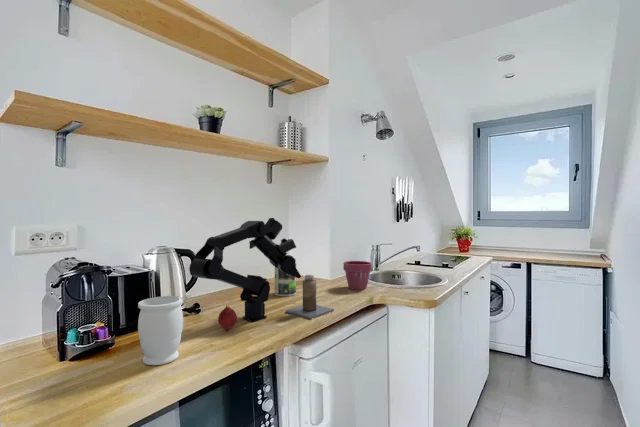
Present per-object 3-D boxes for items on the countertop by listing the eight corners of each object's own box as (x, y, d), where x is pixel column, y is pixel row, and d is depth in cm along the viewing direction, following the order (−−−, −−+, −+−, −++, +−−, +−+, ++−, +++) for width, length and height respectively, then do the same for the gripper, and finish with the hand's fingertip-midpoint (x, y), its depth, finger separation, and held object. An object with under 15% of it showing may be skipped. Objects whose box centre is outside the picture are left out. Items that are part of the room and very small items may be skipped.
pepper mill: (309, 312, 119) (309, 277, 120) (299, 309, 123) (299, 275, 123) (319, 309, 123) (319, 275, 123) (309, 306, 127) (309, 273, 127)
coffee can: (301, 293, 153) (300, 263, 153) (285, 297, 144) (285, 266, 145) (285, 290, 159) (284, 261, 159) (269, 294, 151) (269, 264, 151)
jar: (132, 358, 83) (132, 300, 83) (174, 347, 91) (173, 293, 91) (145, 372, 76) (145, 308, 76) (189, 358, 83) (189, 300, 83)
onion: (240, 328, 105) (240, 304, 105) (227, 334, 100) (227, 308, 100) (227, 325, 108) (227, 301, 108) (214, 331, 103) (214, 306, 103)
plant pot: (368, 284, 171) (368, 260, 171) (374, 290, 157) (374, 264, 157) (341, 285, 170) (341, 260, 170) (345, 291, 156) (345, 264, 156)
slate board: (311, 319, 114) (311, 317, 114) (285, 312, 122) (285, 310, 123) (333, 311, 124) (333, 309, 124) (309, 305, 132) (309, 303, 132)
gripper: (289, 233, 114) (319, 263, 118) (277, 230, 131) (303, 256, 136) (267, 257, 111) (298, 286, 115) (257, 251, 129) (284, 276, 133)
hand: (296, 275), depth 125 cm, fingers open, 9 cm apart
